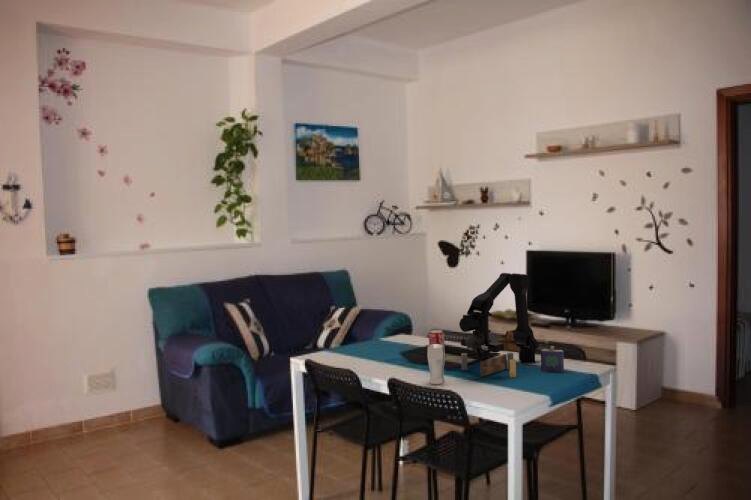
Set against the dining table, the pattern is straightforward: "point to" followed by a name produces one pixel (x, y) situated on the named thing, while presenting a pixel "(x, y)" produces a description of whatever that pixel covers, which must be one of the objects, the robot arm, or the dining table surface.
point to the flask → (552, 360)
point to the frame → (510, 363)
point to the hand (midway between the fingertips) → (482, 364)
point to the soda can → (436, 337)
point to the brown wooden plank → (493, 365)
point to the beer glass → (436, 363)
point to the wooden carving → (509, 341)
